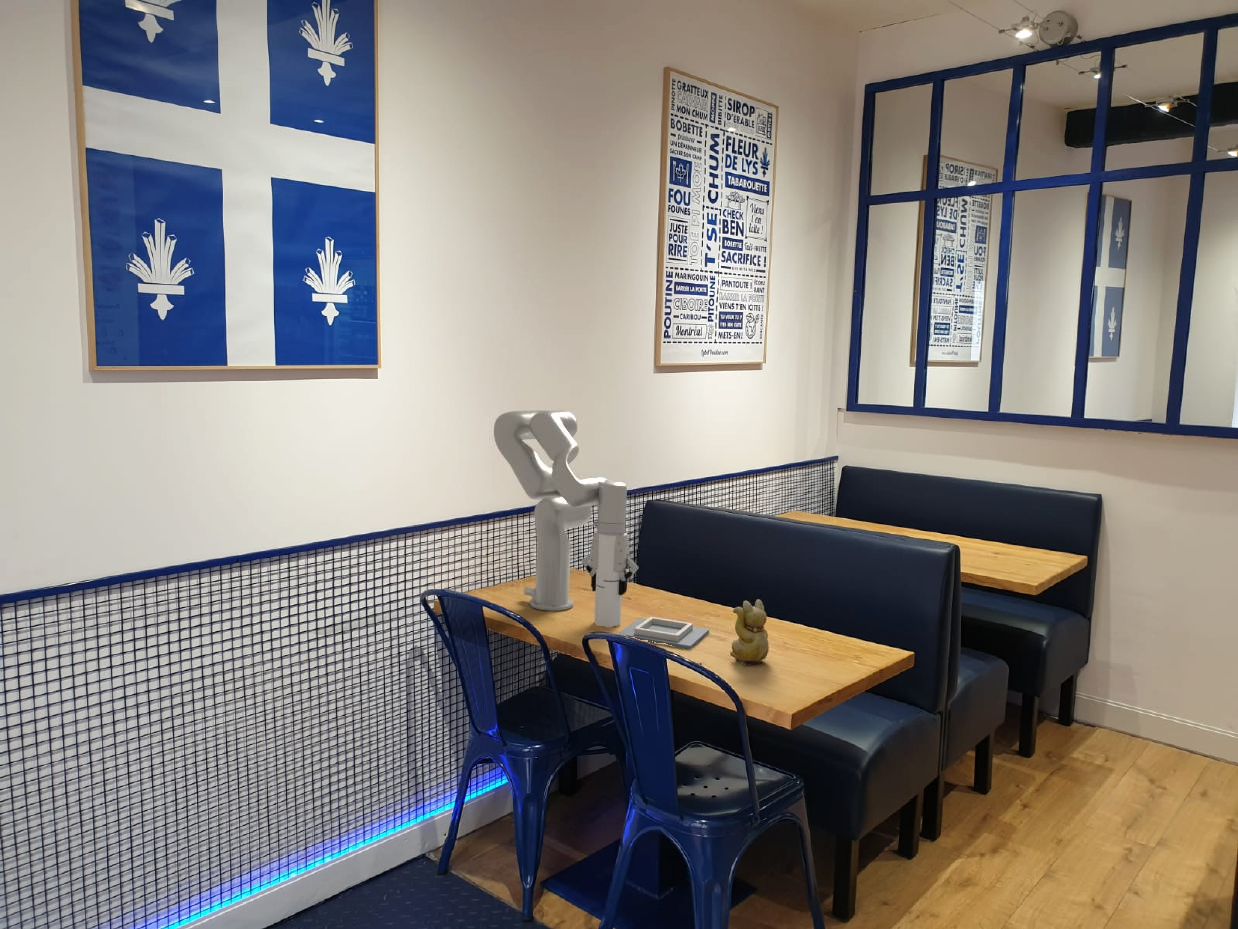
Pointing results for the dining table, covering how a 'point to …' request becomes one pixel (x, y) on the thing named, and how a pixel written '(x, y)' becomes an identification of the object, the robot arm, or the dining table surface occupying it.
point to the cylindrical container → (607, 585)
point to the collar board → (666, 632)
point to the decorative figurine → (750, 634)
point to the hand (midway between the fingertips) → (608, 591)
